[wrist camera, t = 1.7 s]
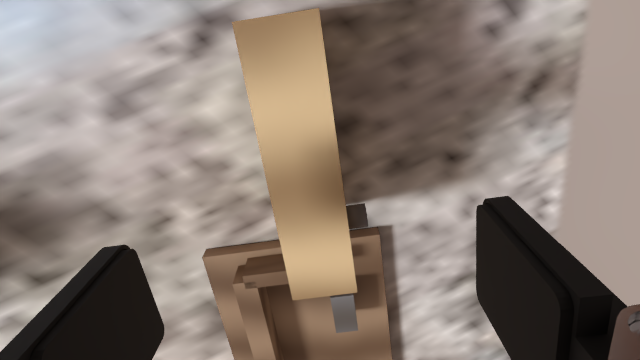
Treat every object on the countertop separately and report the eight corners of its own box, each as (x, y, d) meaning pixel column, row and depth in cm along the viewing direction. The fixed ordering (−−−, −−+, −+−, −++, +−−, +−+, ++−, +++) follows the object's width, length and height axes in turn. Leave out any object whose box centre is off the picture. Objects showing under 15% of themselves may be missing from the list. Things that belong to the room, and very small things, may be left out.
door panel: (264, 19, 22) (232, 22, 13) (336, 7, 21) (348, 3, 13) (300, 210, 26) (292, 300, 18) (359, 202, 26) (379, 289, 18)
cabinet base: (206, 249, 27) (193, 275, 25) (377, 227, 27) (384, 251, 24) (259, 422, 34) (254, 458, 31) (395, 407, 34) (402, 442, 31)
